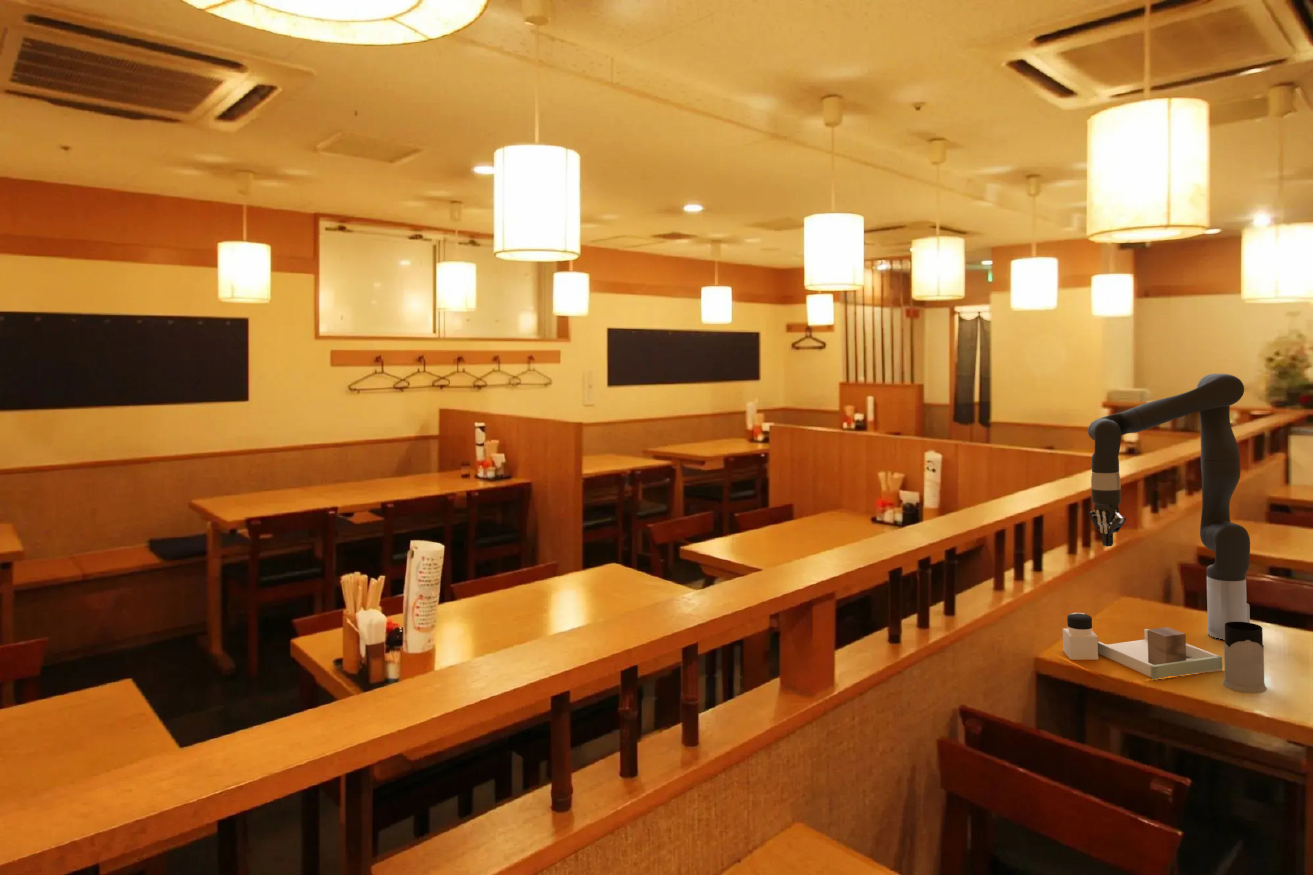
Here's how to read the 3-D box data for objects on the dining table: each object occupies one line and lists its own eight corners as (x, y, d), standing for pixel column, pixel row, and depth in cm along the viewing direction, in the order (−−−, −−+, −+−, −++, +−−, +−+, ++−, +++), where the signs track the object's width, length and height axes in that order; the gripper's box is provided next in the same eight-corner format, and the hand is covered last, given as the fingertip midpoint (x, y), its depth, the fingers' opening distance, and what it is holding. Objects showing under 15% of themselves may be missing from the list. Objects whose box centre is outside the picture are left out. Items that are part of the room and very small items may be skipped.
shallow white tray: (1147, 640, 234) (1147, 628, 234) (1222, 670, 209) (1222, 656, 209) (1085, 649, 231) (1085, 637, 230) (1154, 680, 206) (1153, 666, 206)
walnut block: (1168, 659, 217) (1167, 626, 217) (1186, 667, 211) (1185, 633, 211) (1148, 662, 216) (1147, 629, 216) (1166, 670, 210) (1165, 636, 210)
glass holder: (1227, 691, 197) (1226, 630, 196) (1213, 670, 210) (1212, 613, 209) (1271, 694, 193) (1270, 632, 192) (1254, 672, 206) (1253, 615, 205)
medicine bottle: (1099, 661, 221) (1097, 618, 220) (1070, 661, 223) (1069, 618, 222) (1090, 652, 228) (1089, 610, 227) (1063, 652, 229) (1061, 610, 229)
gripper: (1134, 488, 231) (1136, 548, 232) (1101, 483, 244) (1103, 540, 245) (1110, 491, 230) (1112, 551, 231) (1078, 485, 243) (1080, 542, 244)
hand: (1107, 545), depth 238 cm, fingers closed
